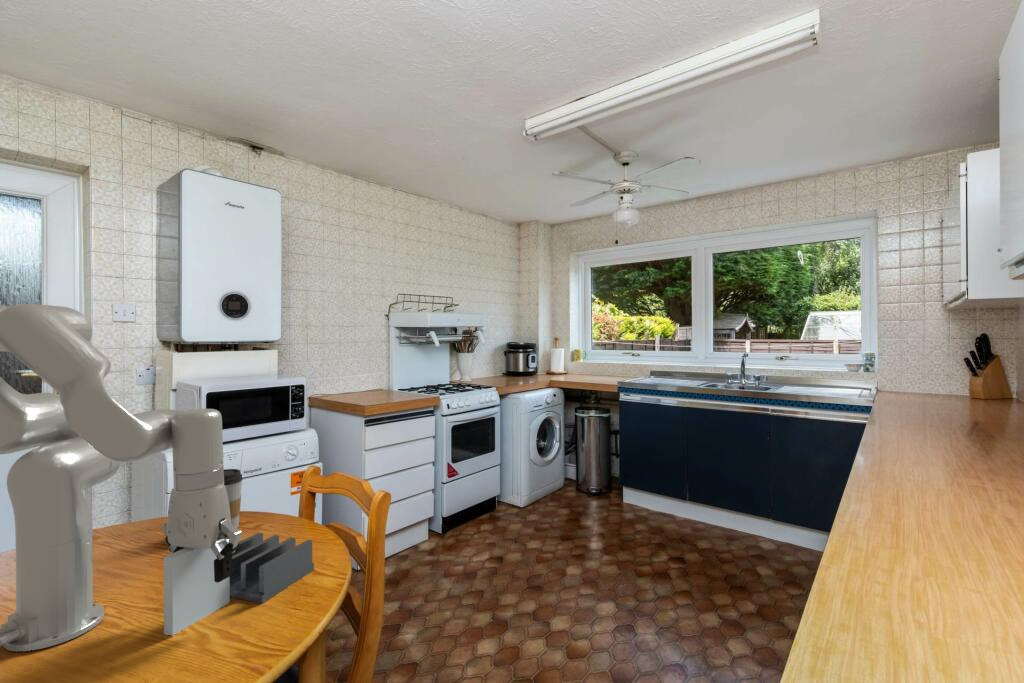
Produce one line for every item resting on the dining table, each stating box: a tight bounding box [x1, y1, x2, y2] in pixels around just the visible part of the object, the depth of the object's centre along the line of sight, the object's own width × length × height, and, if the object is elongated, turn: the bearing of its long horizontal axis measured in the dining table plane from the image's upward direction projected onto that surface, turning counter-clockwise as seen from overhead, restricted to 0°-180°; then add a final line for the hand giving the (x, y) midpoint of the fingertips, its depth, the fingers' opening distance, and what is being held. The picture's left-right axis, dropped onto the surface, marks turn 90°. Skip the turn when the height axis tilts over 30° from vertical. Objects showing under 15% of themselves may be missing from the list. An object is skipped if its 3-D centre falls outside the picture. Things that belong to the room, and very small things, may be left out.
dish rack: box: [230, 532, 315, 604], centre depth 99 cm, size 14×14×6 cm
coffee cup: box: [224, 468, 244, 529], centre depth 126 cm, size 8×8×15 cm
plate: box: [163, 544, 231, 636], centre depth 86 cm, size 11×2×13 cm, turn 162°
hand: (202, 575), depth 86 cm, fingers open, 9 cm apart
